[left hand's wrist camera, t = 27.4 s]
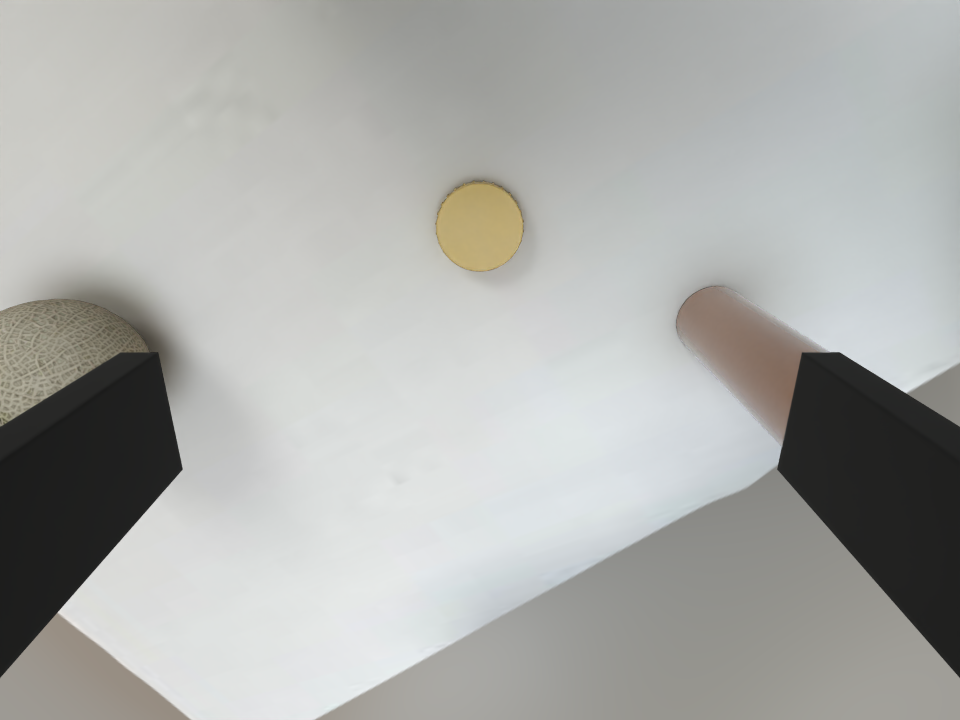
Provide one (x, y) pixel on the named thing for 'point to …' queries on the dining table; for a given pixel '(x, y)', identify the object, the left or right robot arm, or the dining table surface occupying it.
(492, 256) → the lid
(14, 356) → the fruit
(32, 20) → the dining table surface
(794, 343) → the bottle
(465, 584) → the dining table surface
